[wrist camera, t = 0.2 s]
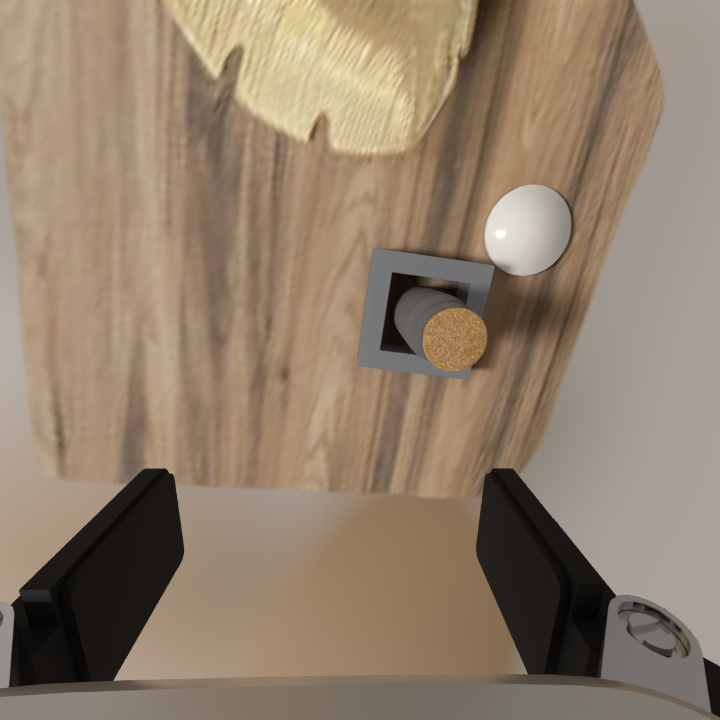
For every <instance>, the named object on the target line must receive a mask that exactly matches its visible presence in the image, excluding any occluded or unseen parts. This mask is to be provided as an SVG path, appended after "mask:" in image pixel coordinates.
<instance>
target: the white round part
mask: <svg viewBox="0 0 720 720" xmlns="http://www.w3.org/2000/svg"><path fill="white" fill-rule="evenodd" d="M570 233H571V215H570V212H569V208H568V206H567V204H566V202H565V201H564V199H563V198H562V197H561V196H560V195H559V194H558V193H557V192H556V191H554V190H552V189H551V188H548V187H546V186H542V185H527V186H522V187H519V188H517V189H515V190H513V191H511V192H509V193H507V194H506V195H504V196H503V197H502V198H501V199H499V200H498V202H497V203H496V204H495V205H494V206H493V208H492V209H491V211H490V213H489V215H488V217H487V219H486V222H485V226H484V233H483V240H484V246H485V250H486V253H487V255H488V257H489V259H490V260H491V262H492V263H493V264H494V265H495V266H496V267H497V268H499V269H500V270H502V271H503V272H505V273H508V274H512V275H520V276H526V275H533V274H536V273H539V272H541V271H543V270H545V269H547V268H548V267H550V266H551V265H552V264H553V263H555V262H556V261H557V260H558V258H559V257H560V256H561V255H562V253H563V251H564V250H565V248H566V246H567V244H568V241H569V238H570Z"/></svg>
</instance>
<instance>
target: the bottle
mask: <svg viewBox="0 0 720 720" xmlns="http://www.w3.org/2000/svg"><path fill="white" fill-rule="evenodd" d="M392 319H393V322H394V324H395V326H396V328H397V330H398V331H399V333H400V334H401V335H402V337H403V338H404V340H405V341H406V342H407V344H408V345H409V347H410V348H411V349H412V350H413V351H414V352H415V353H416V354H417V355H418V356H420V357H421V358H423V359H425V360H427V361H428V362H430V363H432V364H433V365H434V366H436V367H437V368H439V369H442V370H445V371H460V370H464V369H466V368H468V367H470V366H472V365H473V364H475V363H476V362H477V361H478V360H479V359H480V357H481V356H482V355H483V353H484V351H485V349H486V346H487V341H488V333H487V328H486V325H485V323H484V322H483V320H482V319H481V317H480V316H479V315H477V314H476V313H475V312H473V311H472V310H471V309H470V308H468V307H467V306H466V304H465V303H463V302H462V301H461V300H460V299H458V298H456V297H454V296H452V295H449V294H446V293H443V292H440V291H437V290H433V289H430V288H427V287H421V286H417V287H411V288H408V289H406V290H405V291H403V292H402V293H401V294H400V295H399V296H398V297H397V298H396V300H395V302H394V304H393V308H392Z"/></svg>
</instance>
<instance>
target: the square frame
mask: <svg viewBox="0 0 720 720" xmlns="http://www.w3.org/2000/svg"><path fill="white" fill-rule="evenodd" d="M494 268H495V265H488V264H481V263H474V262H467V261H460V260H454V259H447V258H440V257H433V256H426V255H419V254H412V253H406V252H399V251H392V250H385V249H378V248H374V249H373V250H372V256H371V263H370V271H369V278H368V285H367V292H366V299H365V306H364V313H363V321H362V328H361V335H360V342H359V349H358V356H357V357H358V366H361V367H369V368H377V369H385V370H393V371H401V372H409V373H417V374H425V375H433V376H441V377H449V378H457V379H465V380H469V375H470V371H471V367H472V366H470V367H468V368H466V369H464V370H460V371H445V370H442V369H439V368H437V367H436V366H434V365H433V364H432V363H430V362H428V361H427V360H425V359H423V358H421V357H420V356H418V355H417V354H416V353H415V352H414V351H413V350H412V349H411V348H410V347H409V346H404V345H397V344H389V343H381V339H382V333H383V326H384V320H385V313H386V307H387V301H388V294H389V288H390V282H391V275H392V272H395V273H402V274H409V275H416V276H423V277H430V278H437V279H444V280H451V281H458V282H459V283H458V288H457V293H456V298H458V299H460V300H461V301H462V302H463V303H465V304H466V306H467V307H468V308H470V309H471V310H472V311H473V312H475V313H476V314H477V315H479V316H480V317H481V319H482V320H483V315H484V311H485V307H486V302H487V298H488V294H489V290H490V285H491V281H492V277H493V272H494Z"/></svg>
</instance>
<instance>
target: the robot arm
mask: <svg viewBox="0 0 720 720" xmlns="http://www.w3.org/2000/svg"><path fill="white" fill-rule="evenodd" d="M476 552H477V557H478V560H479V563H480V565H481V567H482V570H483V572H484V574H485V576H486V579H487V581H488V583H489V585H490V588H491V590H492V593H493V595H494V597H495V599H496V602H497V604H498V606H499V608H500V611H501V613H502V615H503V618H504V620H505V622H506V625H507V627H508V629H509V631H510V634H511V636H512V638H513V640H514V643H515V645H516V647H517V650H518V652H519V654H520V656H521V658H522V661H523V663H524V666H525V668H526V670H527V673H528V674H527V675H526V674H449V675H448V674H444V675H443V674H440V675H361V676H360V675H359V676H303V677H253V678H251V677H249V678H209V679H208V678H206V679H168V680H125V681H113V680H114V678H115V677H116V675H117V673H118V671H119V670H120V668H121V666H122V664H123V663H124V661H125V659H126V657H127V656H128V654H129V652H130V650H131V649H132V647H133V645H134V643H135V642H136V640H137V638H138V637H139V635H140V633H141V631H142V630H143V628H144V626H145V624H146V623H147V621H148V619H149V617H150V616H151V614H152V612H153V610H154V609H155V607H156V605H157V603H158V602H159V600H160V598H161V596H162V595H163V593H164V591H165V590H166V588H167V586H168V584H169V582H170V581H171V579H172V577H173V576H174V574H175V572H176V570H177V569H178V567H179V565H180V563H181V561H182V558H183V555H184V544H183V536H182V529H181V522H180V515H179V508H178V500H177V493H176V486H175V479H174V476H173V474H169V472H168V470H167V469H144V470H142V471H141V472H140V473H139V474H138V475H137V476H136V477H135V478H134V479H133V480H132V481H131V482H130V483H129V484H128V485H127V486H126V487H124V489H123V490H122V491H120V492H119V493H118V494H117V495H116V496H115V497H114V498H113V499H112V500H111V501H110V502H109V503H108V504H107V505H106V506H105V507H104V508H103V509H102V510H101V511H100V512H99V513H98V514H97V515H96V516H95V517H94V518H93V519H92V520H91V521H90V522H89V523H87V525H85V526H84V527H83V528H82V529H81V530H80V531H79V532H78V533H77V534H76V535H75V536H74V537H73V538H72V539H71V540H70V541H69V542H68V543H67V544H66V545H65V546H64V547H63V548H62V549H61V550H60V551H59V552H58V553H57V554H56V555H55V556H54V557H53V558H52V559H50V561H48V562H47V564H45V566H43V567H42V568H41V569H40V570H39V571H38V572H37V573H36V574H35V575H34V576H33V577H32V578H31V579H30V580H29V581H28V582H27V583H26V584H25V585H24V586H23V587H22V588H21V589H20V590H19V592H20V596H19V597H18V598H17V599H16V600H15V601H14V602H13V603H12V604H11V605H9V604H7V603H1V602H0V720H720V666H718V665H716V664H714V663H713V662H711V661H709V660H707V659H705V658H703V655H702V651H701V648H700V645H699V643H698V641H697V639H696V638H695V636H694V635H693V634H692V632H691V631H690V630H689V629H688V628H687V627H686V626H685V625H684V624H683V623H682V622H681V621H680V620H679V619H678V618H677V617H675V616H674V615H673V614H671V613H670V612H668V611H667V610H666V609H664V608H662V607H661V606H659V605H657V604H655V603H653V602H651V601H648V600H646V599H643V598H640V597H636V596H631V595H620V596H616V595H615V594H614V593H613V591H612V590H611V589H610V588H609V586H608V585H607V584H606V583H605V581H604V580H603V579H602V578H601V576H600V575H599V574H598V573H597V572H596V570H595V569H594V568H593V567H592V565H591V564H590V563H589V562H588V560H587V559H586V558H585V557H584V555H583V554H582V553H581V552H580V550H579V549H578V548H577V547H576V546H575V545H574V543H573V542H572V541H571V539H570V538H569V537H568V536H567V534H566V533H565V532H564V531H563V529H562V528H561V527H560V526H559V525H558V523H557V522H556V521H555V520H554V519H553V518H552V517H551V515H550V514H549V513H548V512H547V510H546V509H545V508H544V507H543V505H542V504H541V503H540V502H539V500H538V499H537V498H536V497H535V496H534V494H533V493H532V492H531V491H530V490H529V488H528V487H527V486H526V484H525V483H524V482H523V481H522V479H521V478H520V477H519V476H518V474H517V473H516V472H515V471H514V470H513V469H511V468H493V469H492V470H491V472H490V473H487V474H486V475H485V479H484V487H483V495H482V504H481V511H480V519H479V527H478V535H477V544H476Z"/></svg>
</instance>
